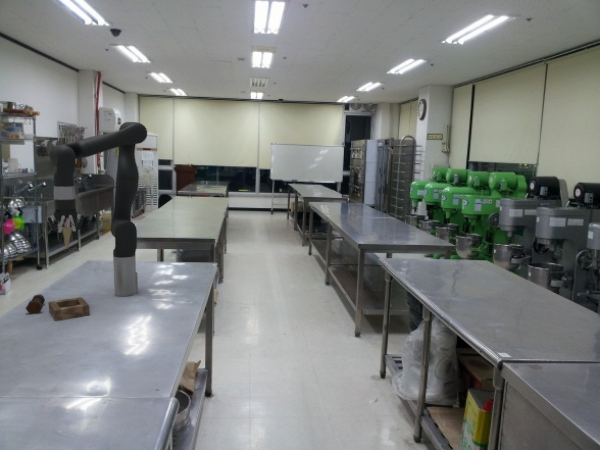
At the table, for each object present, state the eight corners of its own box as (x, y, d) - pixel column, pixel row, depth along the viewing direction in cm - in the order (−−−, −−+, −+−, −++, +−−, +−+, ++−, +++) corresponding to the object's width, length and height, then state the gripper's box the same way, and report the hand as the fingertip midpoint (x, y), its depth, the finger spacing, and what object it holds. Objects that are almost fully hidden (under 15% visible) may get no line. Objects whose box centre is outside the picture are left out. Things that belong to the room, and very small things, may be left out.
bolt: (42, 306, 197) (36, 317, 183) (29, 301, 195) (23, 312, 181) (49, 293, 197) (44, 303, 183) (37, 288, 195) (31, 298, 182)
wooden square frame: (81, 306, 192) (81, 297, 192) (89, 315, 183) (89, 305, 182) (49, 311, 185) (48, 301, 185) (55, 321, 176) (54, 310, 175)
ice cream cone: (62, 250, 191) (61, 213, 189) (77, 251, 192) (76, 214, 189) (56, 253, 185) (55, 215, 183) (72, 254, 186) (70, 216, 184)
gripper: (81, 196, 192) (83, 237, 195) (42, 197, 184) (45, 241, 187) (86, 197, 186) (88, 240, 189) (46, 199, 178) (48, 244, 181)
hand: (67, 240), depth 188 cm, fingers closed on ice cream cone, 3 cm apart
